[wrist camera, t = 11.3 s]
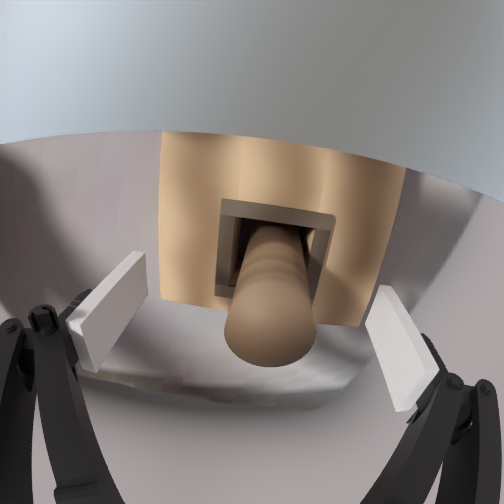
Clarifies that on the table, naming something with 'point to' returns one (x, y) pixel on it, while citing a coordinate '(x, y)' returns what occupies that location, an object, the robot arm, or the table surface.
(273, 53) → the socket station
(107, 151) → the table surface
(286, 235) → the peg
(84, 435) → the robot arm
